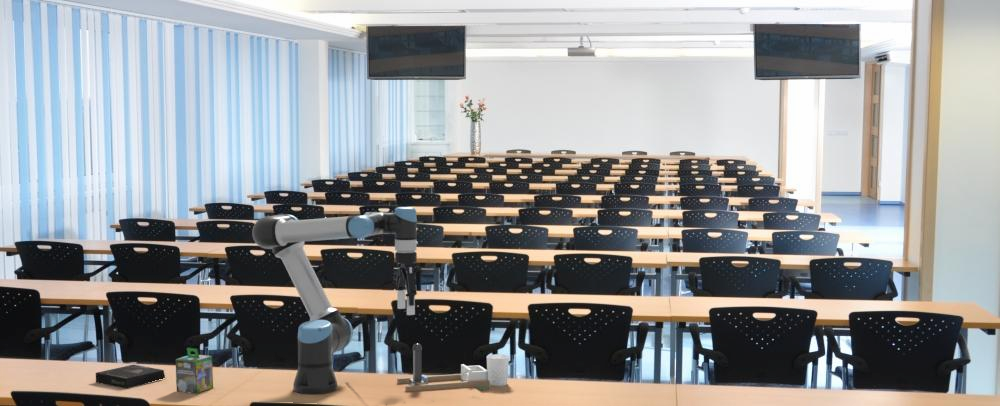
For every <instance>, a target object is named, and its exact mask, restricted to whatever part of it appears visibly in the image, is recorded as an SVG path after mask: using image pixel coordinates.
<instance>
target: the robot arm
mask: <svg viewBox="0 0 1000 406" xmlns="http://www.w3.org/2000/svg"><path fill="white" fill-rule="evenodd" d="M417 222H418V219H417V209H416V208H415V207H412V206H411V207H410V206H399V207H395V209H394V212H379V211H378V212H377V211H369V212H368V211H367V212H365V213H364V214H363V215H360V214H359V215H349V216H347V215H346V216H337V217H336V216H335V217H323V218H321V217H320V218H313V219H312V218H311V219H298V217H296V216H294V215H292V214H286V213H278V214H276V215H269V216H268V215H267V216H262V217H261V218H260V219H258V220H257V221H256V222H255V223H254V225H253V227H252V229H251V230H252V234H251V236H252V238H253V241H254V242H255V244H256V245H257V246H259V247H260V248H262V249H266V250H272V252H273V254H274V256H275V258H278V259H281V261H282V263H283V265H284V267H285V269H286V271H287V273H288V276H289V277H290V279H291V282H292V283H293V286H294V288H295V289H296V291H297V294H298V296H299V298H300V300H301V301H302V304H303V306H304V307H305V310H306V312H307V314H308V316H309V320H308V321H305V322H302V323H301V324H299V326H298V329H297V330H298V332H297V350H298V351H297V354H298V355H297V357H298V360H297V361H298V364H297V365H298V367H297V372H296V375H295V378H294V381H293V387H292V388H293V391H294V392H295V393H299V394H305V395H318V394H320V395H321V394H327V393H332V392H334V391H336V390H338V380H337V377H336V375H335V371H334V368H333V354H335V353H336V352H340V351H342V350H345V348H347V347H348V346H349V345H350V344H351V342H352V340H353V337H354V329H353V326H352V324H351V322H350V321H349V320H348V319H347V318H345V317H343V316H342V315H341V312H340V311H339V309H337V308H335V307H333V306H332V304H331V302H330V300H329V298H328V297H327V294H326V292H325V290H324V288H323V286H322V284H321V282H320V280H319V278H318V276H317V274H316V272H315V269H314V268H313V265H312V264H311V262H310V259H309V258H308V256H307V254H306V252H305V250H304V246H305V242H314V241H315V242H316V241H327V240H328V241H329V240H341V239H355V238H356V239H366V238H369V237H372V236H376V235H394V251H396V252H395V255H394V261H395V262H394V263H396V264H397V274H396V282H395V288H396V291H397V309H398V310H402V309H403V310H405V309H406V316H414V315H416V309H415V308H416V303H415V302H416V296H417V294H418V293H417V285H416V275H415V266H412V264H416V263H417V262H418V261H417V259H418V258H417V257H418V256H417V247H418V246H417V245H418V244H419V242H418V241H417V237H418V236H417V230H418V228H417V227H418V223H417Z"/></svg>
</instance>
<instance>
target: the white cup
mask: <svg viewBox="0 0 1000 406" xmlns="http://www.w3.org/2000/svg"><path fill="white" fill-rule="evenodd" d="M509 360H510V357H509V355H507V354H500V353H496V354H488V355H486V370H487V371H488V380H490V387H491V386H492V387H504V386H506V385H508V375H509V362H510V361H509Z"/></svg>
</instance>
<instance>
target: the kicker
mask: <svg viewBox="0 0 1000 406" xmlns="http://www.w3.org/2000/svg"><path fill="white" fill-rule="evenodd" d="M422 349H423V347H422V345H421V344H420V343H418V342H417V343H415V344H413V345H412V353H413V354H412V367H413V368H412V377H413V378H411V379H409V383H408V384H409V386H411V385H425V384H429V382H428V377H426V376H427V375H425V374H423V373H422V371H423V370H422V369H423V367H422V364H423V363H422V361H423V360H422V357H423V356H422Z"/></svg>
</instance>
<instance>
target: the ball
mask: <svg viewBox="0 0 1000 406" xmlns="http://www.w3.org/2000/svg"><path fill="white" fill-rule="evenodd" d="M466 381H468V373H466V374H464V376H463V380H462V382H466Z"/></svg>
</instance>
